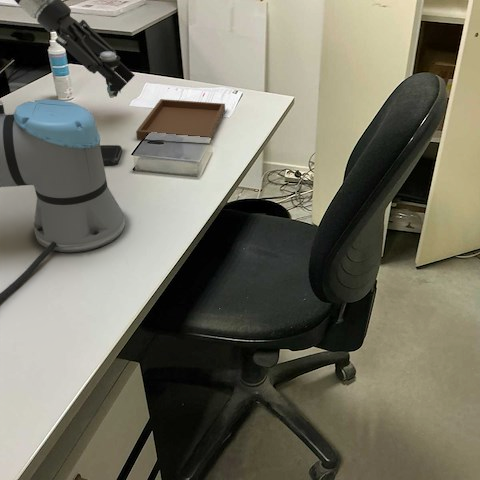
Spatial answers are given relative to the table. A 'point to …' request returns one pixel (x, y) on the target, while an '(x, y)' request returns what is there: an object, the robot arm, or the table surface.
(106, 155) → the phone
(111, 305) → the table surface
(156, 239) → the table surface
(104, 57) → the push button
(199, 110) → the tray
